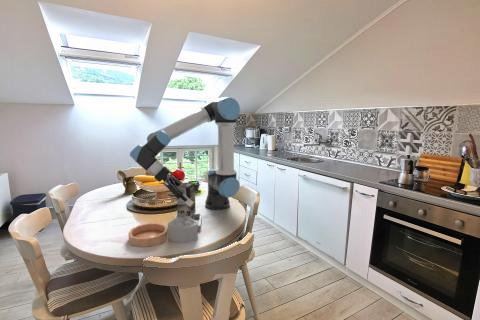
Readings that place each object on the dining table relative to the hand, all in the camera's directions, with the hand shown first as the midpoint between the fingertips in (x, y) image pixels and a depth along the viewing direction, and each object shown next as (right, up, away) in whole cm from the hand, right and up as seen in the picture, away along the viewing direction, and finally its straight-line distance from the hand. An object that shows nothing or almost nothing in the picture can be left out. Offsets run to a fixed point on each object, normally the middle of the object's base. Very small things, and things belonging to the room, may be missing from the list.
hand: (192, 200), depth 126 cm
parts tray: (-3, -12, +2) cm, 13 cm away
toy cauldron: (-10, -3, +57) cm, 58 cm away
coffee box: (-3, -8, +1) cm, 8 cm away
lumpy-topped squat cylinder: (-1, -15, -12) cm, 19 cm away
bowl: (-17, -14, -13) cm, 26 cm away
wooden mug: (-55, -3, +51) cm, 75 cm away
